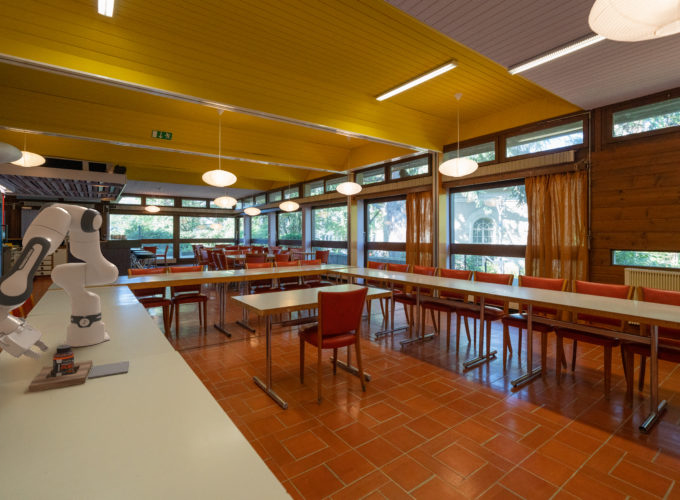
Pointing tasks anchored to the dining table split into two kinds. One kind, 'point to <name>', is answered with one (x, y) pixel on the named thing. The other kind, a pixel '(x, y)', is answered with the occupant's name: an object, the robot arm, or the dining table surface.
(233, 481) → the dining table surface
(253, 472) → the dining table surface
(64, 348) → the supplement bottle
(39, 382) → the walnut dock board
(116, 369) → the slate-grey rubber mat
